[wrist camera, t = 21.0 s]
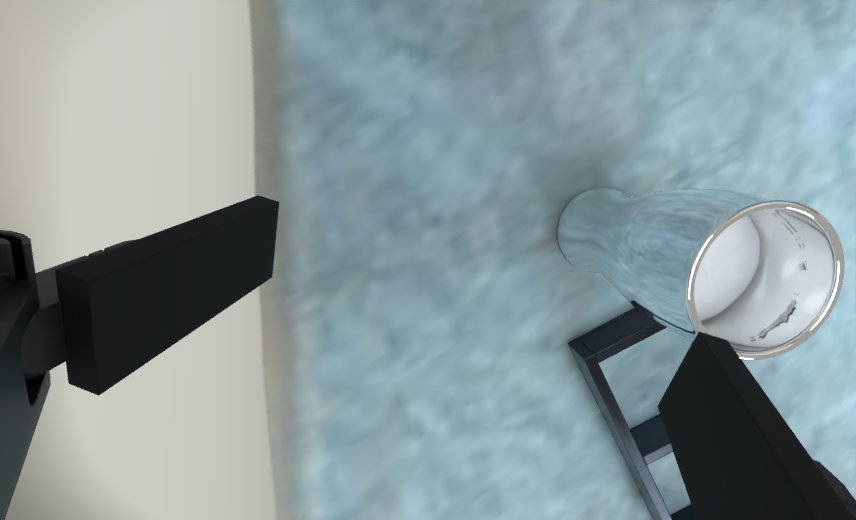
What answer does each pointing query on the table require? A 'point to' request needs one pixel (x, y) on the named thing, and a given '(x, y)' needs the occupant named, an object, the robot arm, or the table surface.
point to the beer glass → (711, 262)
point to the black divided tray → (635, 443)
